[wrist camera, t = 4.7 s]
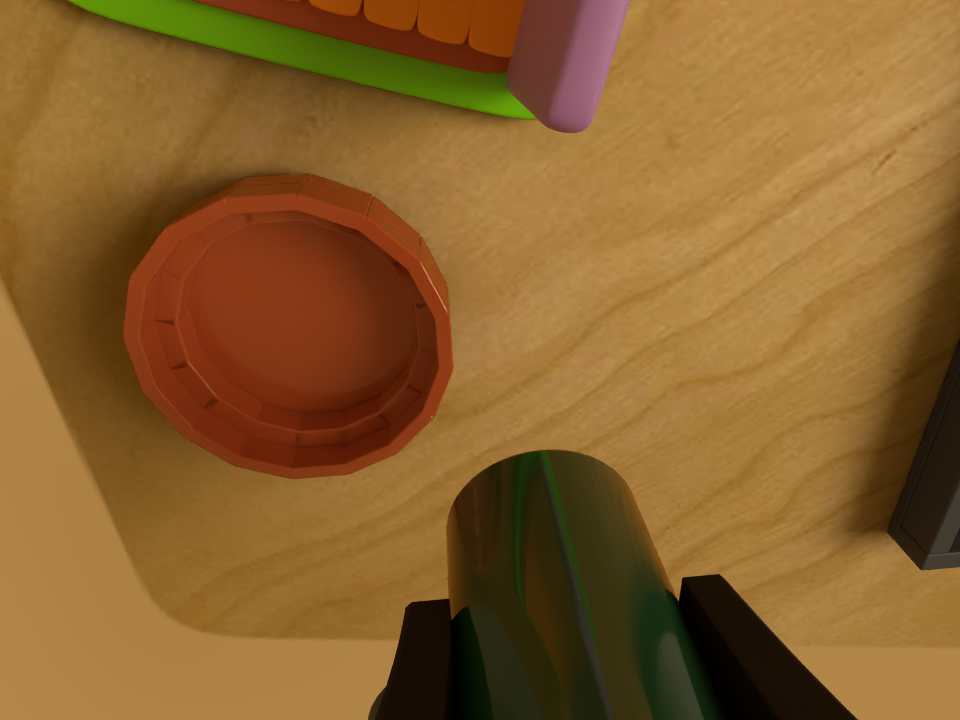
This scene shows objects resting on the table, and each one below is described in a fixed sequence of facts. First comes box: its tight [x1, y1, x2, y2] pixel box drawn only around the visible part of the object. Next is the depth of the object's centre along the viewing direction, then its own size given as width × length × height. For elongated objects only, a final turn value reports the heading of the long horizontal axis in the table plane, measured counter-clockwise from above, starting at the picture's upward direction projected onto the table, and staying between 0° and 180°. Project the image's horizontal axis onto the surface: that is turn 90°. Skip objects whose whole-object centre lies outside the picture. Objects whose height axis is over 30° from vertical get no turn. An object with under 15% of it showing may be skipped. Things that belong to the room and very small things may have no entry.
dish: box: [123, 174, 454, 479], centre depth 17 cm, size 8×8×2 cm
